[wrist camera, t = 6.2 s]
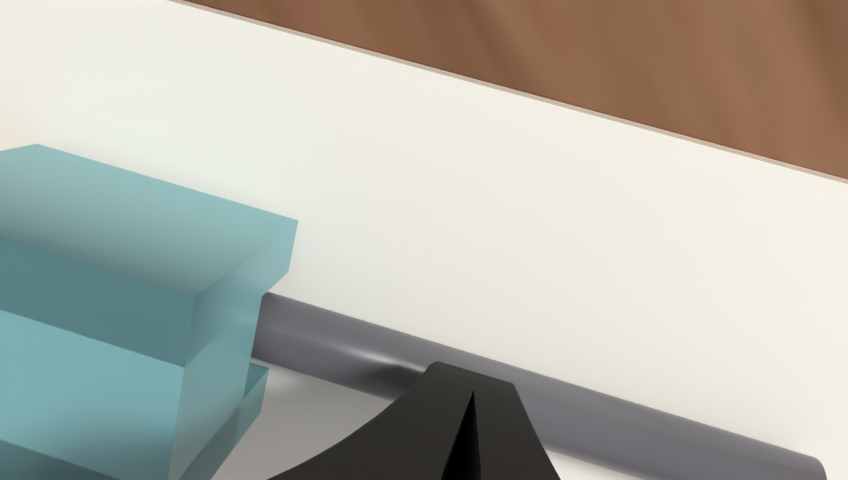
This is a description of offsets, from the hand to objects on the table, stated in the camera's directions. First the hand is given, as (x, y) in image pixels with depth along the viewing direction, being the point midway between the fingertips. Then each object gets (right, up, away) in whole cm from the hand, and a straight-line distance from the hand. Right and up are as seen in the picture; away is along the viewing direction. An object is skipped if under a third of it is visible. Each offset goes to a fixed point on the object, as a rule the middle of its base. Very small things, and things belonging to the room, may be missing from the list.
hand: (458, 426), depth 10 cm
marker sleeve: (-6, +2, +2) cm, 6 cm away
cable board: (-4, +2, +3) cm, 6 cm away
